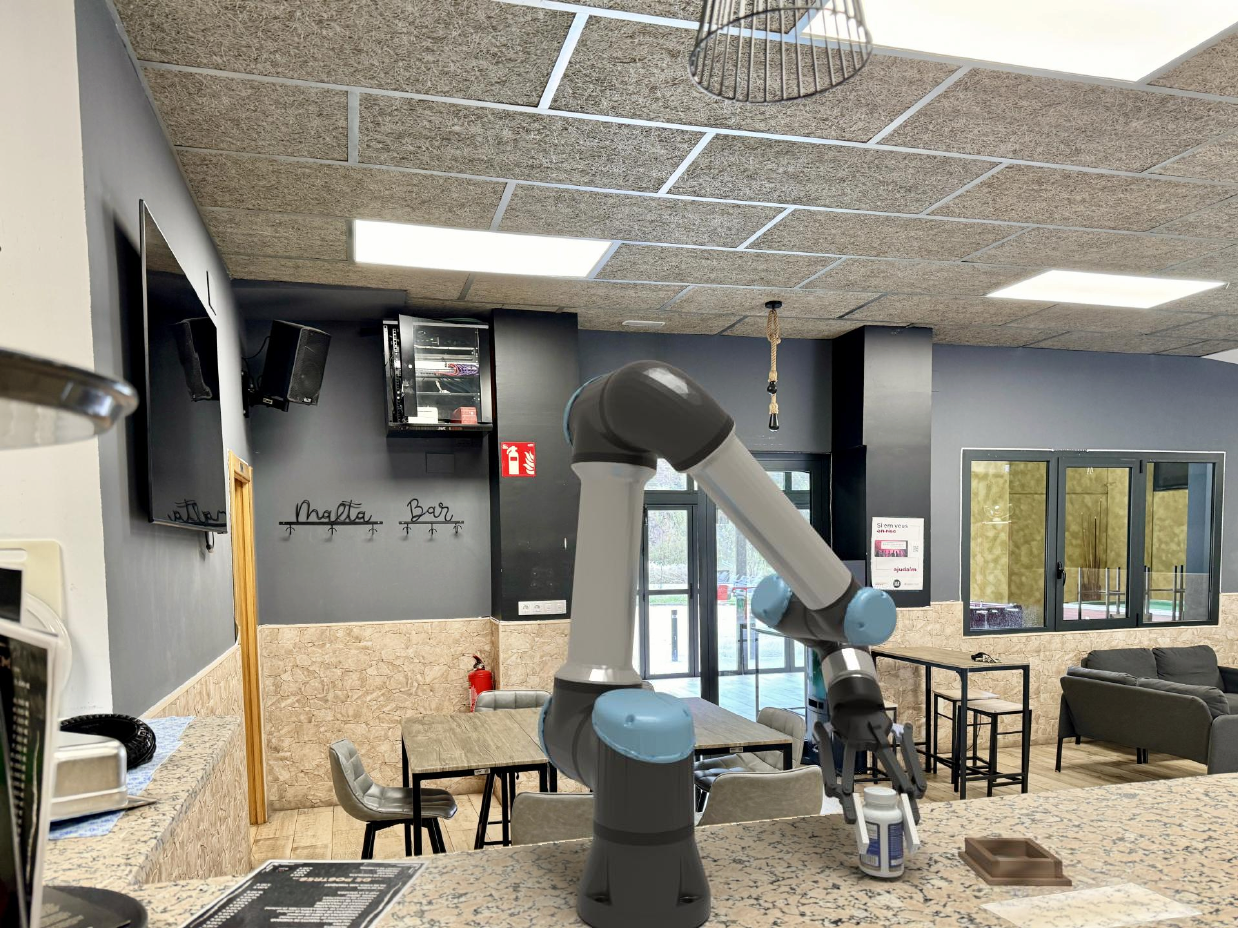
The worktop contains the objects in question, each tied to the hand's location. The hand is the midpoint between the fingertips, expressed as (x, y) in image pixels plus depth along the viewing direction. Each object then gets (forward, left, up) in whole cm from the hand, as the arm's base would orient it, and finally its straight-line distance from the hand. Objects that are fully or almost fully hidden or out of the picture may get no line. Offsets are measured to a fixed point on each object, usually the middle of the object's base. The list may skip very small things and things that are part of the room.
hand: (889, 848), depth 103 cm
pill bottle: (0, +4, -4) cm, 6 cm away
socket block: (+17, +6, -4) cm, 19 cm away
